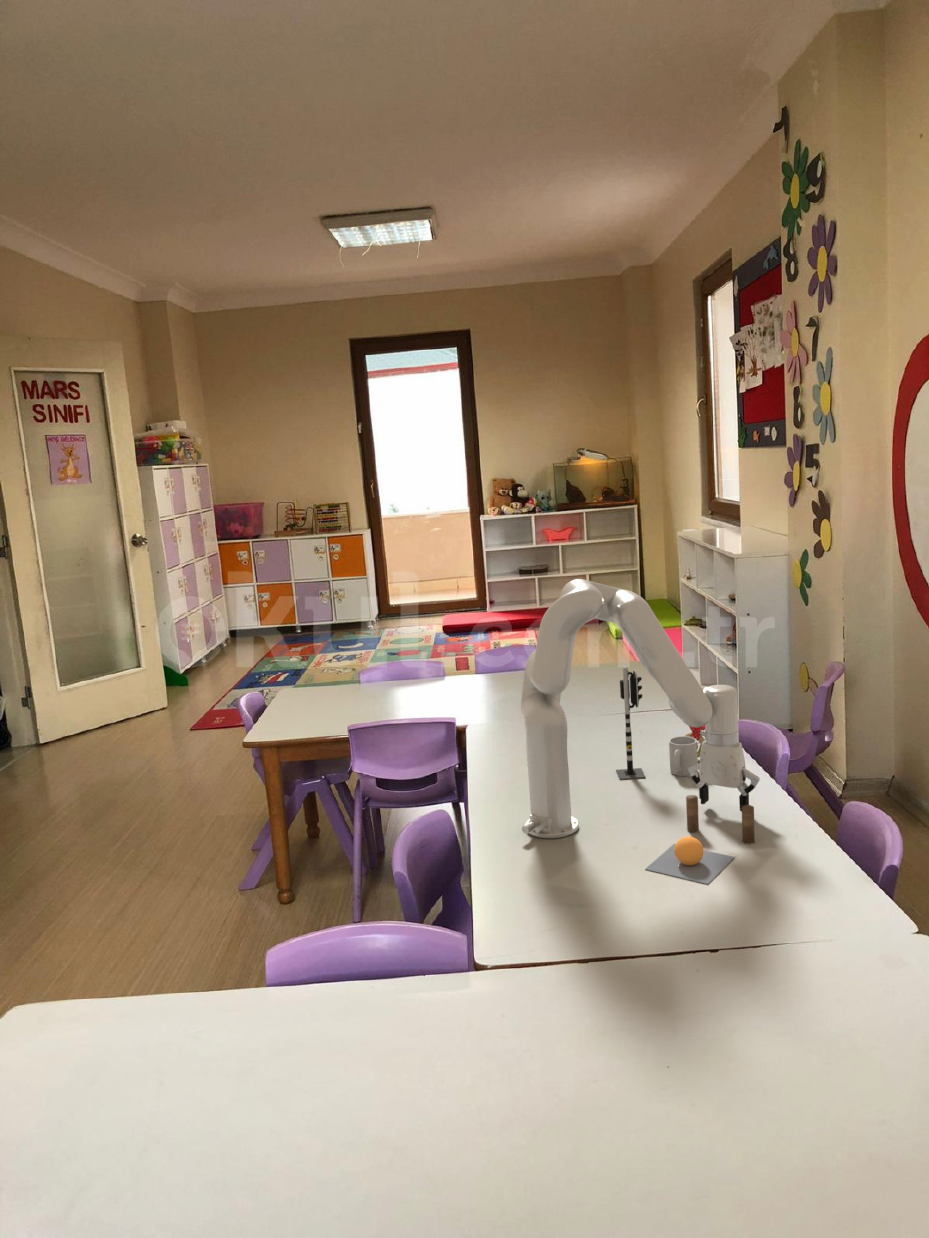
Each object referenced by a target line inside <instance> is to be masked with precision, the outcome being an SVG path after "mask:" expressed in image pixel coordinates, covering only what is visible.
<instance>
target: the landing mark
mask: <svg viewBox="0 0 929 1238" xmlns="http://www.w3.org/2000/svg"><path fill="white" fill-rule="evenodd" d="M675 845H676V843H673V844H672V845H670V846H669V848H668V849H666V850H665V851H664V852H662V853H661V854H660V855H659V856H658V857H657V858H656V859H654V860H653V862H651V863H650V864H649V865H647V867H646V868H645V869H644V870H645V871H649V872H653V871H654V872H653V873H657V872H658V874H661V873H662V875H665V874H666V876H669V875H670V876H669V877H675V878H678V877H680V878H679V879H682V878H684V879H683V880H686V879H687V881H690V880H691V882H694V881H695V883H699V884H703V883H704V885H707V886H708V885H709V884H710V883H711V882H713V880H715V878H716V877H717V876H718V875H720V873H721V872H722V871H723V870H725V868H726V867H728V865H729V864H731V862H733V860H734V859H735V858H736V856H732V855H728V854H724V853H718V852H714V851H709V850H705V849H703V850H704V853H703V857H702V859H701V861H700V862H699V863H697V864H695V865H691V866H689V865H685V864H682V863H681V862H680V861H679V860H678V859H677V858H676V856H675V851H674V849H675ZM678 865H679V866H678Z"/></svg>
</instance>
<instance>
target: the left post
mask: <svg viewBox="0 0 929 1238" xmlns="http://www.w3.org/2000/svg"><path fill="white" fill-rule="evenodd" d="M685 802H686V803H685V805H686V806H685V807H686V829H687V830H686V831H687V832H689V833H698V832H699V831H700V826H699V825H700V824H699V823H700V822H699V798H698V796H697V795H696V794H689V795H687V796H685Z"/></svg>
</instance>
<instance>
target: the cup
mask: <svg viewBox="0 0 929 1238" xmlns="http://www.w3.org/2000/svg"><path fill="white" fill-rule="evenodd" d="M697 743H698V742H697V740H696V739H695V738H693V737H687V736H684V735H683V736H675V737H671V738H670V739H669V740H668V746H669V747H668V748H669V749H668V750H669V770H670V773H671V774H672V775H673V776H677V777H684V778H686V777H692V776H691V775H690V773H689V771H688V768H689V767H691V766H693V765H696V764H698V758H697V752H698V749H697ZM696 772H697V773H698V772H699V770H696Z"/></svg>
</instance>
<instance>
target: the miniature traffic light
mask: <svg viewBox="0 0 929 1238" xmlns="http://www.w3.org/2000/svg"><path fill="white" fill-rule="evenodd" d="M628 668H629V667H628V666H623V667H622V675H623V676H622V678H623V679H620V680H619V689H620V690H619V691H620V693H619V694H620V699H622V700H624V713H625V714H624V716H625V748H626V749H625V750H626V767H627V768H621V769H616V770H615V773H616V774H617V777H618V780H620V781H624V780H637V779H638V780H639V779H646V775H645V773H644V771H643V768H641V767H640V768H639V767H636V768H634V762H633V760H634V759H633V741H632V727H631V709H633V708H635V707H636V709H637V708H639V703H640V700H641V699H642V698H643V694H642V693H639V692H640V691H641V690H642V689H643V685H639V683H640V682H641V681H642V679H643V678H642V677H641V676H638V673H637V671H636V669H635V668H633V672H632V671H629V669H628ZM631 704H632V705H631Z"/></svg>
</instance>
